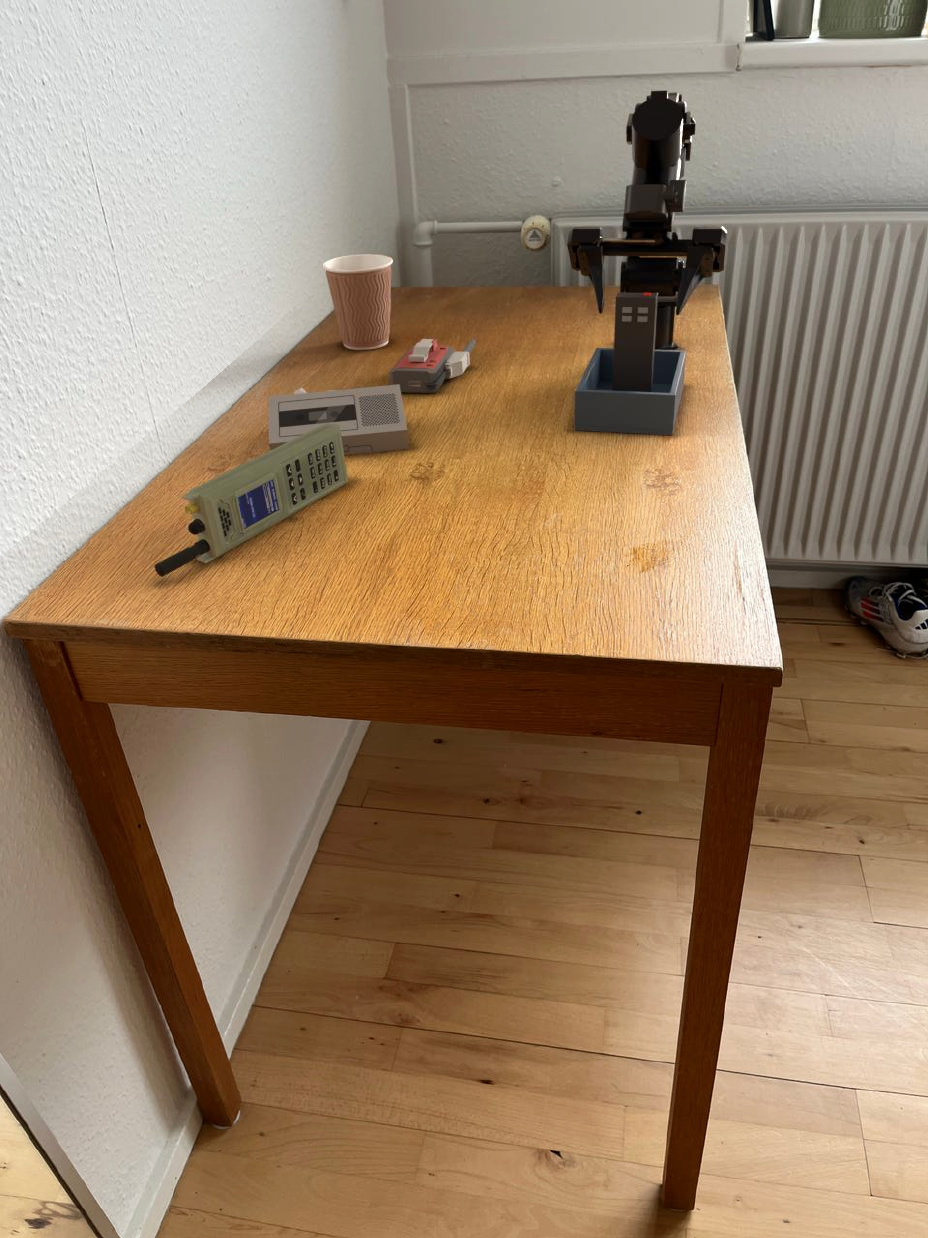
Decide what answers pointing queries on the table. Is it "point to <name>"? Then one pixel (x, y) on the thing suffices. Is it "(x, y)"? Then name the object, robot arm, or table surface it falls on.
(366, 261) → the coffee cup
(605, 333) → the table surface
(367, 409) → the cassette player
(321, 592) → the table surface
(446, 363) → the walkie-talkie
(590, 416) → the tote
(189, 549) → the handheld radio
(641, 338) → the block
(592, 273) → the robot arm
